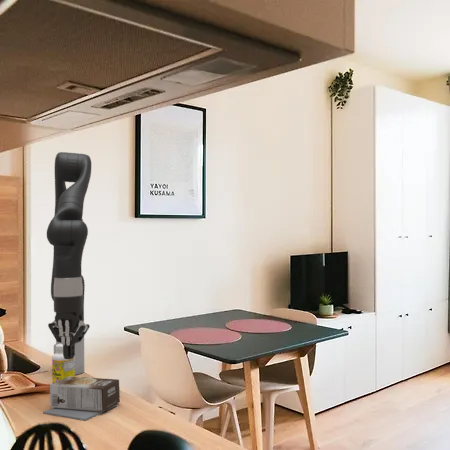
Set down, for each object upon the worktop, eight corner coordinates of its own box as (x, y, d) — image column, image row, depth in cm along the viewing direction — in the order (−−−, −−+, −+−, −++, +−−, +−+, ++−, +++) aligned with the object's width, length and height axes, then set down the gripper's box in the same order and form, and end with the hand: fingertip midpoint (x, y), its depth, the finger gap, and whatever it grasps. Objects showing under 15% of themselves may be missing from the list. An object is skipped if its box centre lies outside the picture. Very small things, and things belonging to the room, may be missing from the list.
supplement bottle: (48, 386, 162) (48, 344, 162) (68, 382, 167) (68, 341, 167) (58, 391, 157) (58, 347, 157) (78, 386, 162) (78, 344, 162)
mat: (43, 413, 137) (43, 411, 137) (77, 399, 148) (77, 397, 149) (85, 420, 131) (85, 419, 131) (117, 405, 142) (117, 403, 142)
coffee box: (68, 375, 148) (120, 378, 144) (68, 398, 148) (120, 402, 144) (49, 384, 140) (103, 388, 135) (49, 408, 139) (104, 413, 135)
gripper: (96, 293, 143) (97, 357, 142) (59, 292, 148) (60, 353, 148) (77, 296, 136) (78, 364, 135) (39, 294, 142) (40, 359, 141)
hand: (68, 358), depth 142 cm, fingers closed
